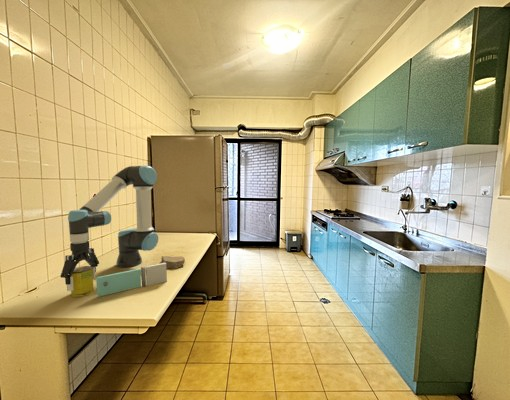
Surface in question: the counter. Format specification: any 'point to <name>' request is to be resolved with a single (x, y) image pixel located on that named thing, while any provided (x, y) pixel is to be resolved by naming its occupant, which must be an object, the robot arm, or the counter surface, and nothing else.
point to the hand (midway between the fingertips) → (82, 284)
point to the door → (118, 282)
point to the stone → (173, 261)
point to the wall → (154, 274)
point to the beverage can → (82, 281)
